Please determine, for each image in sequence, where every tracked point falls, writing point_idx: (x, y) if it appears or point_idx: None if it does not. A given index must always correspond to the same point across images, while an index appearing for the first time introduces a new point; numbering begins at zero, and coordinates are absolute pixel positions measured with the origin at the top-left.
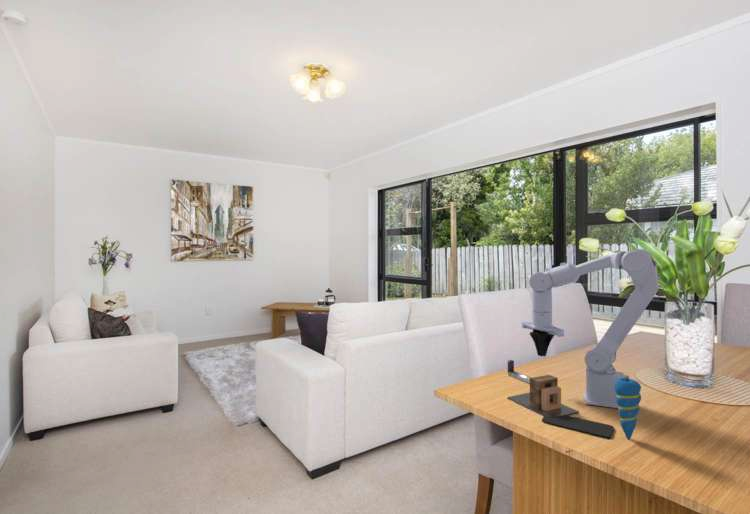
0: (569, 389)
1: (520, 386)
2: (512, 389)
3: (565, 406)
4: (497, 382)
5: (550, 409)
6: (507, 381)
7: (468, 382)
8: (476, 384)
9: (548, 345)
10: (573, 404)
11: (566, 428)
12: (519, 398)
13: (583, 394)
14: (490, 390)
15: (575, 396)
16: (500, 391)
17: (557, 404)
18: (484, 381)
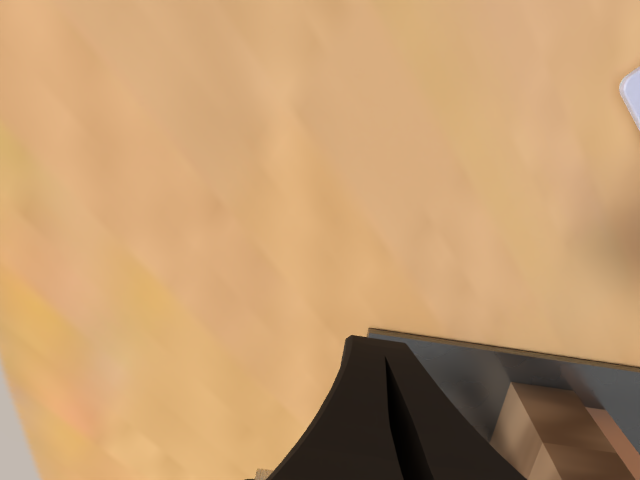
0: (486, 51)
1: (242, 294)
2: (254, 372)
3: (618, 379)
4: (114, 349)
5: None
6: (127, 285)
7: (45, 469)
8: (91, 460)
9: (479, 445)
10: (626, 294)
11: None
12: None
13: (637, 113)
14: (203, 468)
15: (582, 156)
16: (242, 442)
17: None
18: (66, 394)
